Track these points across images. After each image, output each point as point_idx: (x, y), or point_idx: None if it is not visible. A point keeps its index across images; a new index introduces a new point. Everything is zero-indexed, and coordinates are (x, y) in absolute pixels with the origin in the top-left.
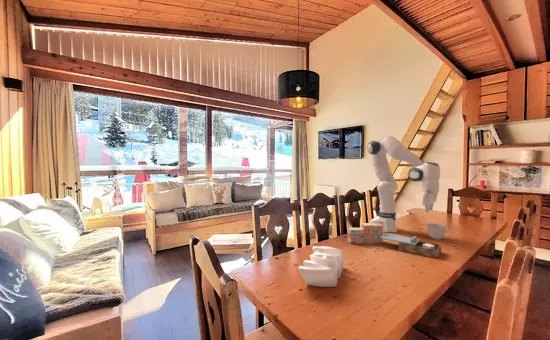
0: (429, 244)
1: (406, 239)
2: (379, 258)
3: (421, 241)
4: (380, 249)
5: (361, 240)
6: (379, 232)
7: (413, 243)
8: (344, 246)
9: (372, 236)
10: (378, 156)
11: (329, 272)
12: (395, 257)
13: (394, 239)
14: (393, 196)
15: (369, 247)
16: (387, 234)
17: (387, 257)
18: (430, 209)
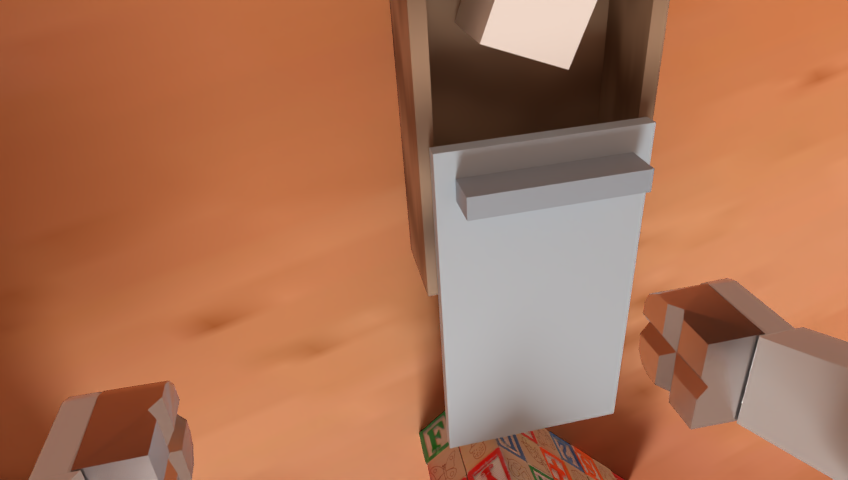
0: (511, 3)
1: (535, 248)
2: (837, 232)
3: (420, 126)
4: (638, 319)
5: (592, 471)
6: (527, 474)
7: (647, 141)
8: (707, 465)
9: (551, 466)
10: None
11: None
12: (766, 167)
13: (610, 316)
14: None
15: (638, 381)
16: (477, 425)
17: (793, 206)
18: (171, 427)
